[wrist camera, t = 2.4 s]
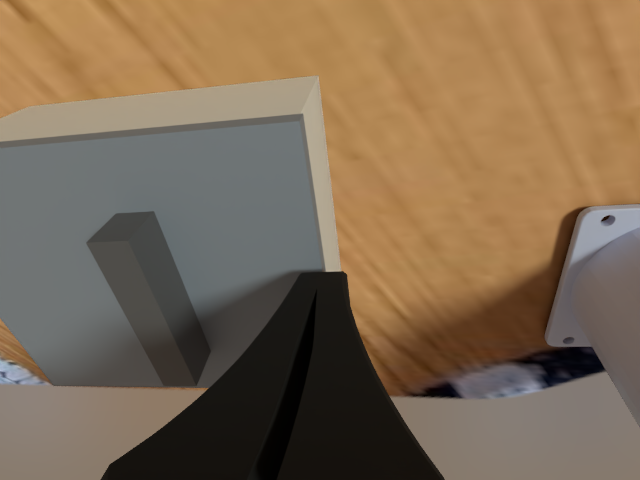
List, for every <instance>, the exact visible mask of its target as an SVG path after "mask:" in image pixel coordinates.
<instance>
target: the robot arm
mask: <svg viewBox="0 0 640 480" xmlns="http://www.w3.org/2000/svg"><path fill="white" fill-rule="evenodd" d="M608 215H610V217H609V218H608V219H607V220H605V221H601V220H602V218H604V217H605V216H608ZM567 337H568V338H567ZM545 340H546V342H547V344H548V345H550V346H554V347H593V349H594V351H595V353H596V354H597V356H598V358H599V359H600V361H601V363H602V364H603V366H604V368H605V370H606V371H607V373H608V375H609V376H610V378H611V380H612V381H613V383H614V385H615V387H616V388H617V390H618V392H619V393H620V395H621V397H622V399H623V400H624V402H625V404H626V405H627V407H628V409H629V410H630V412H631V414H632V415H633V417H634V419H635V420H636V422H637V424H638V426H639V427H640V204H630V205H610V206H593V207H588V208H586V209H584V210H583V211H581V212H580V213H579V215H578V217H577V220H576V224H575V227H574V231H573V234H572V238H571V242H570V245H569V249H568V252H567V256H566V260H565V263H564V267H563V271H562V274H561V278H560V281H559V285H558V289H557V292H556V296H555V299H554V303H553V307H552V310H551V314H550V317H549V321H548V325H547V328H546V332H545ZM101 480H445V479H444V477H443V476H442V474H441V473H440V472H439V470H438V469H437V468H436V466H435V465H434V464H433V462H432V461H431V460H430V458H429V457H428V456H427V454H426V453H425V451H424V450H423V449H422V447H421V446H420V444H419V443H418V441H417V440H416V438H415V437H414V435H413V434H412V432H411V431H410V429H409V428H408V426H407V425H406V423H405V422H404V420H403V418H402V417H401V415H400V413H399V412H398V410H397V408H396V407H395V405H394V403H393V402H392V400H391V398H390V397H389V395H388V393H387V392H386V390H385V388H384V386H383V384H382V382H381V380H380V379H379V377H378V375H377V373H376V371H375V369H374V367H373V365H372V363H371V360H370V358H369V356H368V354H367V351H366V349H365V347H364V344H363V342H362V339H361V337H360V334H359V332H358V329H357V326H356V323H355V320H354V317H353V314H352V310H351V307H350V299H349V290H348V280H347V274H346V273H344V272H343V271H337V272H305V273H301V274H300V275H299V276H298V278H297V279H296V281H295V283H294V284H293V286H292V288H291V289H290V291H289V292H288V294H287V296H286V297H285V299H284V300H283V302H282V303H281V305H280V306H279V307H278V309H277V310H276V312H275V313H274V314H273V316H272V317H271V319H270V320H269V322H268V323H267V324H266V326H265V327H264V328H263V329H262V331H261V332H260V333H259V334H258V336H257V337H256V338H255V339H254V341H253V342H252V343H251V344H250V346H249V347H248V348H247V349H246V350H245V351H244V353H243V354H242V355H241V356H240V357H239V358H238V359H237V360H236V362H235V363H234V364H233V365H232V366H231V367H230V368H229V369H228V370H227V371H226V372H225V373H224V374H223V375H222V376H221V377H220V378H219V379H218V380H217V381H216V382H215V383H214V384H213V385H212V386H211V387H210V388H209V389H208V390H206V391H205V392H204V393H203V394H202V395H201V396H200V397H199V398H198V399H197V400H195V401H194V402H193V403H192V404H191V405H190V406H188V407H187V408H186V409H185V410H183V411H182V412H181V413H180V414H179V415H177V416H176V417H175V418H174V419H172V420H171V421H170V422H169V423H168V424H166V425H165V426H164V427H163V428H161V429H160V430H158V431H157V432H156V433H154V434H153V435H152V436H150V437H149V438H148V439H146V440H145V441H143V442H142V443H140V444H139V445H137V446H136V447H135V448H133V449H132V450H130V451H129V452H127V453H126V454H125V455H123V456H122V457H120V458H119V459H117V460H116V461H114V462H113V463H111V464H110V465H109V467H108V468H107V470H106V472H105V473H104V475H103V477H102V479H101Z"/></svg>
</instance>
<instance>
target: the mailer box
mask: <svg viewBox="0 0 640 480" xmlns="http://www.w3.org/2000/svg"><path fill="white" fill-rule="evenodd" d="M292 114H303V116H304V123H305V130H306V137H307V144H308V151H309V158H310V165H311V172H312V178H313V185H314V192H315V199H316V206H317V213H318V220H319V227H320V234H321V241H322V248H323V255H324V262H325V269H326V272H337V271H341V265H340V257H339V248H338V240H337V231H336V222H335V214H334V205H333V197H332V188H331V180H330V171H329V162H328V154H327V145H326V137H325V128H324V120H323V111H322V102H321V94H320V85H319V77H318V76H308V77H299V78H290V79H280V80H271V81H262V82H252V83H243V84H234V85H225V86H215V87H206V88H197V89H187V90H178V91H169V92H159V93H150V94H141V95H131V96H122V97H113V98H103V99H94V100H85V101H75V102H66V103H57V104H47V105H38V106H29V107H27V108H24V109H22V110H20V111H17V112H15V113H12V114H10V115H7V116H5V117H2V118H0V142H2V141H13V140H24V139H34V138H45V137H56V136H67V135H77V134H88V133H99V132H110V131H120V130H131V129H142V128H153V127H163V126H174V125H185V124H196V123H206V122H217V121H228V120H238V119H249V118H260V117H271V116H281V115H292Z"/></svg>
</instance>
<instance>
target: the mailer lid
mask: <svg viewBox="0 0 640 480" xmlns="http://www.w3.org/2000/svg"><path fill="white" fill-rule="evenodd" d="M305 272H326V269H325V262H324V255H323V248H322V241H321V234H320V227H319V220H318V213H317V206H316V199H315V192H314V185H313V178H312V172H311V165H310V158H309V151H308V144H307V137H306V130H305V123H304V116H303V114H292V115H281V116H271V117H260V118H249V119H238V120H228V121H217V122H206V123H196V124H185V125H174V126H163V127H153V128H142V129H131V130H120V131H110V132H99V133H88V134H77V135H67V136H56V137H45V138H34V139H24V140H13V141H2V142H0V318H1V320H2V321H3V322H4V323H5V325H6V326H7V327H8V328H9V330H10V331H11V332H12V334H13V335H14V336H15V337H16V339H17V340H18V341H19V342H20V344H21V345H22V346H23V347H24V349H25V350H26V351H27V353H28V354H29V355H30V356H31V358H32V359H33V360H34V361H35V363H36V364H37V365H38V366H39V368H40V369H41V370H42V372H43V373H44V374H45V375H46V377H47V378H48V379H49V380H50V382H51V383H52V384H53V385H54V386H115V387H186V388H210V387H211V386H212V385H213V384H214V383H215V382H216V381H217V380H218V379H219V378H220V377H221V376H222V375H223V374H224V373H225V372H226V371H227V370H228V369H229V368H230V367H231V366H232V365H233V364H234V363H235V362H236V360H237V359H238V358H239V357H240V356H241V355H242V354H243V353H244V351H245V350H246V349H247V348H248V347H249V346H250V344H251V343H252V342H253V341H254V339H255V338H256V337H257V336H258V334H259V333H260V332H261V331H262V329H263V328H264V327H265V326H266V324H267V323H268V322H269V320H270V319H271V317H272V316H273V314H274V313H275V312H276V310H277V309H278V307H279V306H280V305H281V303H282V302H283V300H284V299H285V297H286V296H287V294H288V292H289V291H290V289H291V288H292V286H293V284H294V283H295V281H296V279H297V278H298V276H299V275H300V274H301V273H305Z"/></svg>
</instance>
